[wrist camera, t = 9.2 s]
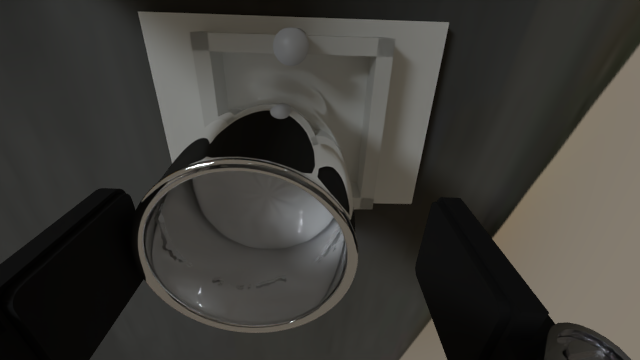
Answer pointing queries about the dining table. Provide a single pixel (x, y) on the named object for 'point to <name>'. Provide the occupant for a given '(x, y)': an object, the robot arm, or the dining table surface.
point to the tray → (314, 68)
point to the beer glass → (253, 217)
